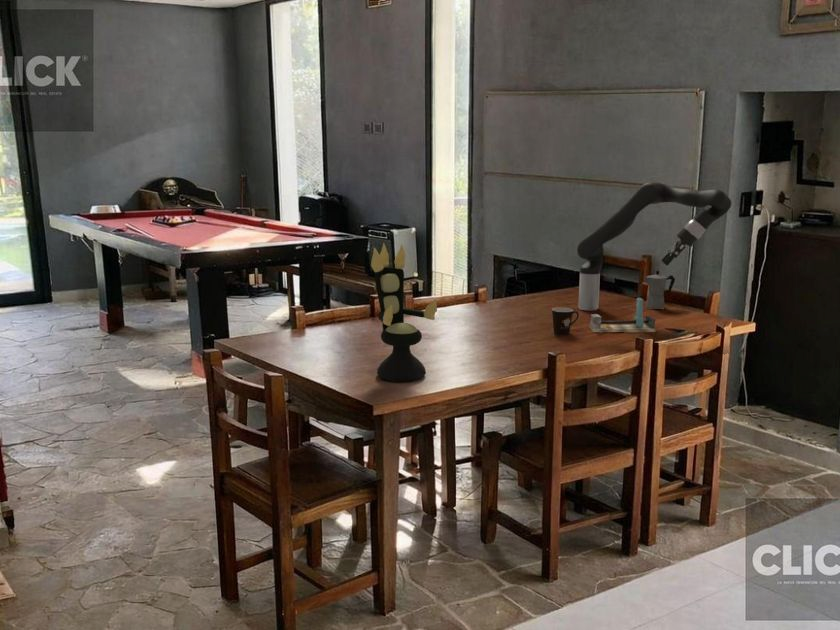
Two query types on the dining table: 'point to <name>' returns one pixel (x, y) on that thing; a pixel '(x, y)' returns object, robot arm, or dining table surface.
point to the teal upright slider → (639, 313)
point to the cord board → (597, 326)
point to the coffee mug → (562, 320)
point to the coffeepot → (657, 290)
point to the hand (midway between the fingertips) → (664, 263)
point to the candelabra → (397, 319)
